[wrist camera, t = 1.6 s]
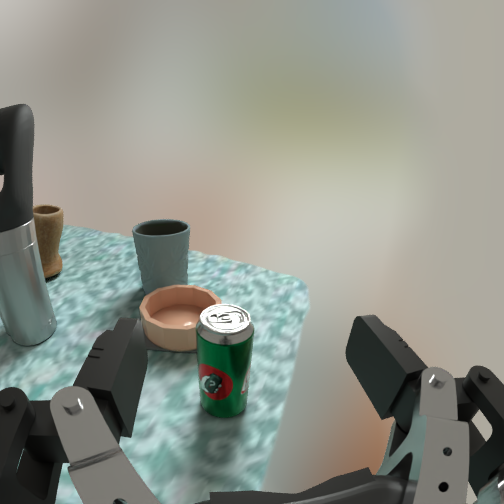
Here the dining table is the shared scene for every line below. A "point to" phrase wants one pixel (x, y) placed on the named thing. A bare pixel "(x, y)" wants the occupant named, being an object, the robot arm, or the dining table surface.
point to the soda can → (224, 358)
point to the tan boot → (49, 237)
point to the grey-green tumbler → (162, 253)
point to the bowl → (175, 315)
